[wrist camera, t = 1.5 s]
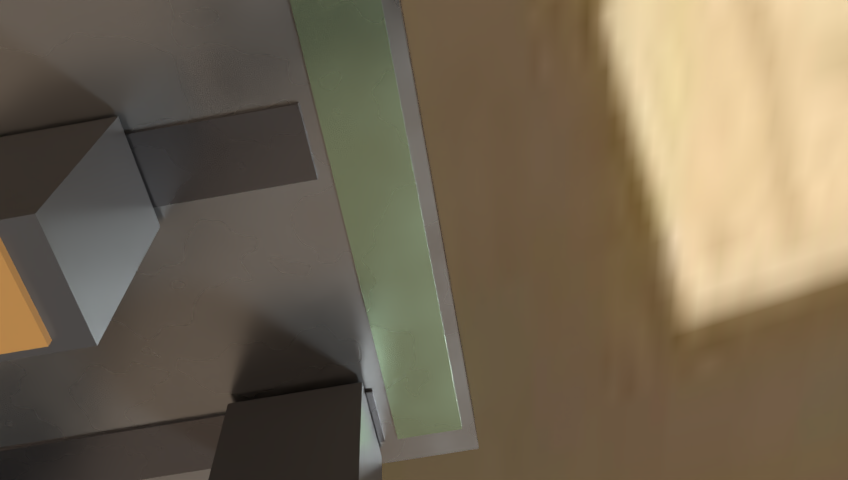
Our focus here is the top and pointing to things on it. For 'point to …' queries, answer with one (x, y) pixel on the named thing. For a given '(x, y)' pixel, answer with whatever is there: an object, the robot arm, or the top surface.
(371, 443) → the block
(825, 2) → the top surface
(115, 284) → the breaker mid
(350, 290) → the panel
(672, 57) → the top surface
